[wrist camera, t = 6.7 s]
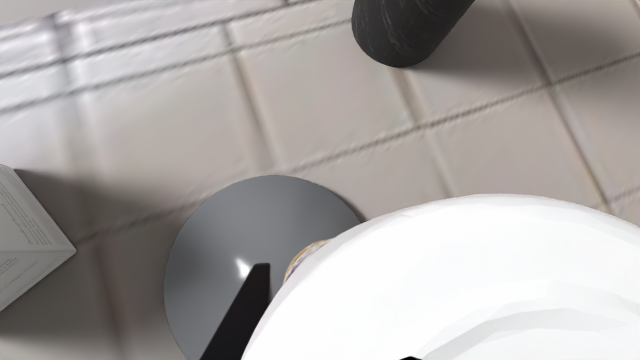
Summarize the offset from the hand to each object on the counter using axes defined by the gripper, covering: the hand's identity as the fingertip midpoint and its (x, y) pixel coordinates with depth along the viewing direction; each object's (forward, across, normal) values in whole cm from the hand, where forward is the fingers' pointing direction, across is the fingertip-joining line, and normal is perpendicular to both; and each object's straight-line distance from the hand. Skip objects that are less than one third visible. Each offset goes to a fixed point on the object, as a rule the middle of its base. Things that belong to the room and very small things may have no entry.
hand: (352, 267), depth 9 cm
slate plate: (+9, +2, +10) cm, 14 cm away
